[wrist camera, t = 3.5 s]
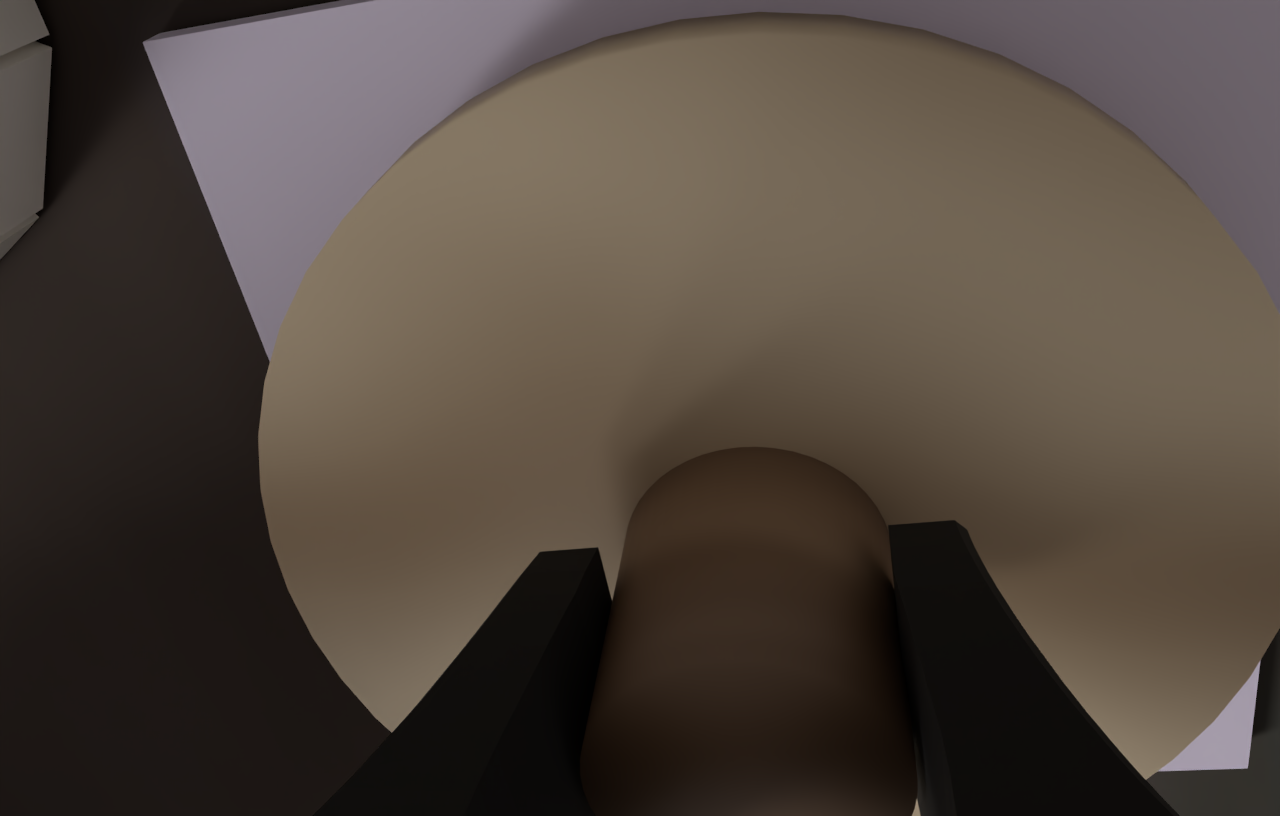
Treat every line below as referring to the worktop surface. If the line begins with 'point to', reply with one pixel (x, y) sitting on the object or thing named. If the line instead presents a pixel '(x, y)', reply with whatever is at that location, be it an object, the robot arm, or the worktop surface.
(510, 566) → the lid
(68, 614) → the worktop surface
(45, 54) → the bowl
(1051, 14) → the mat
